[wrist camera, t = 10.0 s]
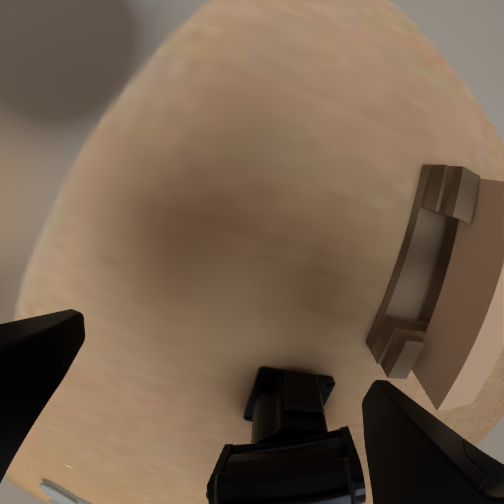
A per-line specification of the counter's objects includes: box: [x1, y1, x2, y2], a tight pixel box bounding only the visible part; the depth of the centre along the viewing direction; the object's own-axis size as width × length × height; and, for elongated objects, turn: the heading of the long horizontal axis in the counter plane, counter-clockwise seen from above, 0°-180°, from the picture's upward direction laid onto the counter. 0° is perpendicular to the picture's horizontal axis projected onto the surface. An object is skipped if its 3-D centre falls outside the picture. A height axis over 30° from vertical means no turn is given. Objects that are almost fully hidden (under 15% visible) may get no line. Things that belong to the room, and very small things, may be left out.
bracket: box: [366, 165, 480, 379], centre depth 16 cm, size 14×9×5 cm, turn 168°
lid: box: [39, 479, 92, 504], centre depth 38 cm, size 17×20×3 cm
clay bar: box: [412, 179, 504, 411], centre depth 13 cm, size 14×4×5 cm, turn 172°
